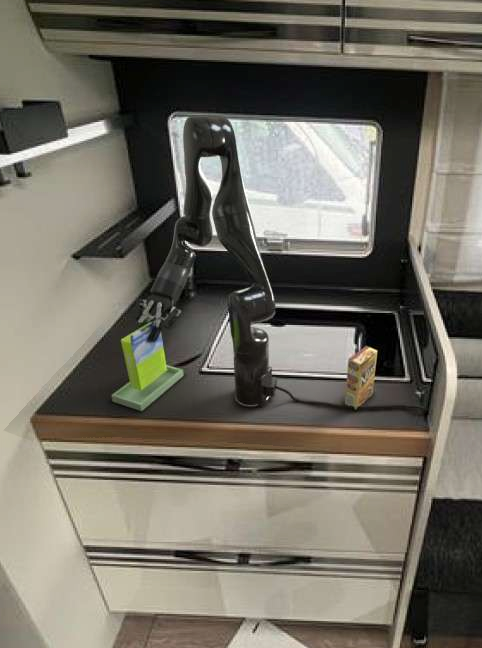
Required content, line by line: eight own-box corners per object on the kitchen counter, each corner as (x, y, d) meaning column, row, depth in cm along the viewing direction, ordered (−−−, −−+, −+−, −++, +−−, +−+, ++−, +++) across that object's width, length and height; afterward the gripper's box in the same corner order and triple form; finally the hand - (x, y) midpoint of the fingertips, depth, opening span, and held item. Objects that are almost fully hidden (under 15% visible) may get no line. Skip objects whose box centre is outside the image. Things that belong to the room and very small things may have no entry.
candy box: (356, 410, 110) (361, 364, 103) (343, 404, 112) (347, 358, 105) (372, 394, 116) (378, 350, 110) (360, 388, 118) (365, 344, 112)
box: (157, 366, 116) (148, 314, 109) (169, 370, 115) (160, 317, 108) (129, 388, 107) (117, 333, 100) (141, 392, 106) (130, 336, 99)
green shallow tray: (183, 375, 118) (183, 369, 117) (141, 411, 104) (140, 405, 103) (157, 367, 121) (156, 361, 120) (112, 401, 106) (111, 395, 105)
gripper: (141, 271, 110) (113, 329, 105) (184, 281, 106) (157, 342, 101) (157, 282, 117) (131, 337, 112) (198, 291, 113) (174, 349, 108)
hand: (144, 339), depth 106 cm, fingers closed on box, 4 cm apart
